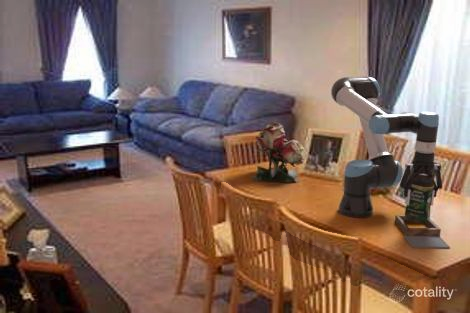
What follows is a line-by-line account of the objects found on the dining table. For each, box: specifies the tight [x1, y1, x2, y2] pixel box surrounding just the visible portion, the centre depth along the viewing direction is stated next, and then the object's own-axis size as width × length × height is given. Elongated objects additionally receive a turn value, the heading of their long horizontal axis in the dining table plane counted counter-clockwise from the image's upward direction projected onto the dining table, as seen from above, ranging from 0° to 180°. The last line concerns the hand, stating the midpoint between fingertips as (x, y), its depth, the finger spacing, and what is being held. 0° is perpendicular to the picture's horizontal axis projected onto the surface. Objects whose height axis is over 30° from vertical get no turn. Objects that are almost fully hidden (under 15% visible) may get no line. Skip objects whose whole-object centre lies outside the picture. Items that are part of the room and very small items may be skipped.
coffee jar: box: [404, 174, 435, 221], centre depth 205 cm, size 10×8×19 cm
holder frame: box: [394, 214, 441, 237], centre depth 208 cm, size 13×15×3 cm
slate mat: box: [403, 235, 451, 249], centre depth 195 cm, size 14×10×1 cm
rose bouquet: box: [252, 122, 307, 183], centre depth 277 cm, size 26×29×30 cm
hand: (418, 204), depth 206 cm, fingers closed on coffee jar, 9 cm apart
